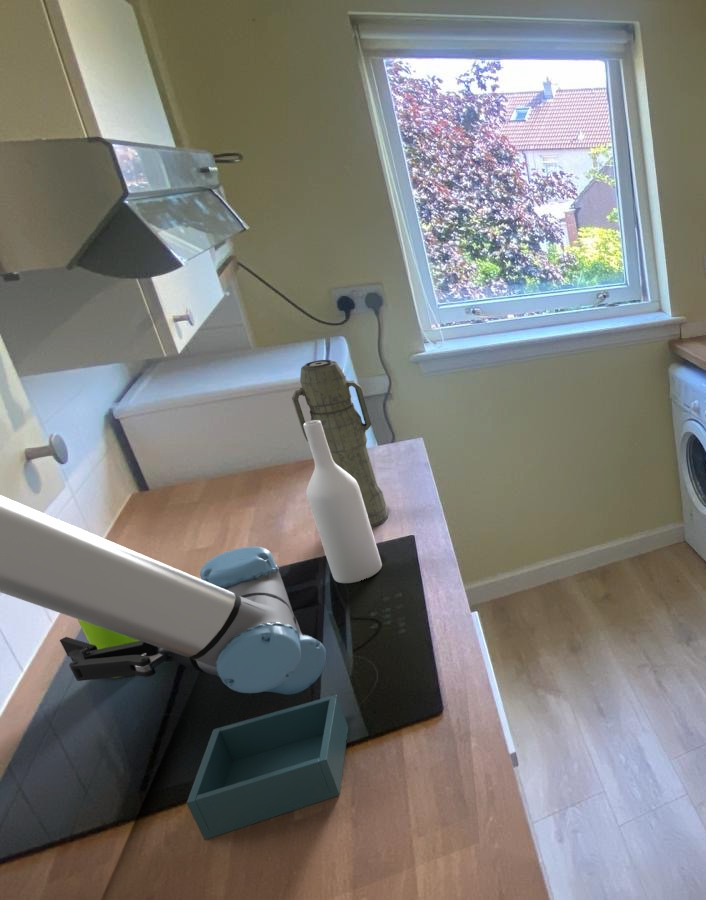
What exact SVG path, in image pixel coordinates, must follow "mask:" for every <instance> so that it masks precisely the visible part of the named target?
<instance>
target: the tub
mask: <svg viewBox="0 0 706 900" xmlns="http://www.w3.org/2000/svg"><path fill="white" fill-rule="evenodd" d="M347 734H349V725H348V723H347V720H346V716H345V713H344V711H343V709H342V706H341V702H340V700H339V697H338V695H337V694H333V695H330V696H326V697H323V698H320V699H316V700H313V701H309V702H305V703H302V704H298V705H295V706H291V707H288V708H284V709H280V710H278V711H274V712H270V713H266V714H263V715H260V716H256V717H253V718H249V719H246V720H242V721H238V722H235V723H230V724H228V725H224V726H221V727H220V726H219V727H217V728H214V729H213V730H212V732H211V735H210V738H209V740H208V743H207V745H206V749H205V751H204V754H203V757H202V759H201V762H200V765H199V768H198V770H197V773H196V776H195V779H194V781H193V784H192V787H191V790H190V793H189V795H188V798H187V800H186V805H187V807H188V809H189V811H190V813H191V815H192V818H193V820H194V822H195V824H196V825H197V828H198V830H199V832H200V834H201V836H202V838H203V840H204V841H205V840H208V839H209V840H210V839H211V838H214V837H217V836H220V835H223V834H227V833H229V832H233V831H235V830H239V829H242V828H244V827H248V826H250V825H255V824H256V823H260V822H262V821H266V820H269V819H272V818H275V817H278V816H281V815H284V814H287V813H290V812H293V811H296V810H299V809H302V808H305V807H308V806H311V805H315V804H317V803H320V802H323V801H327V800H330V799H332V798H336V797H338V796H340V795H341V788H342V782H343V781H342V780H343V772H344V764H345V757H346V750H347V743H346V740H347V741H348V735H347Z"/></svg>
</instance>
